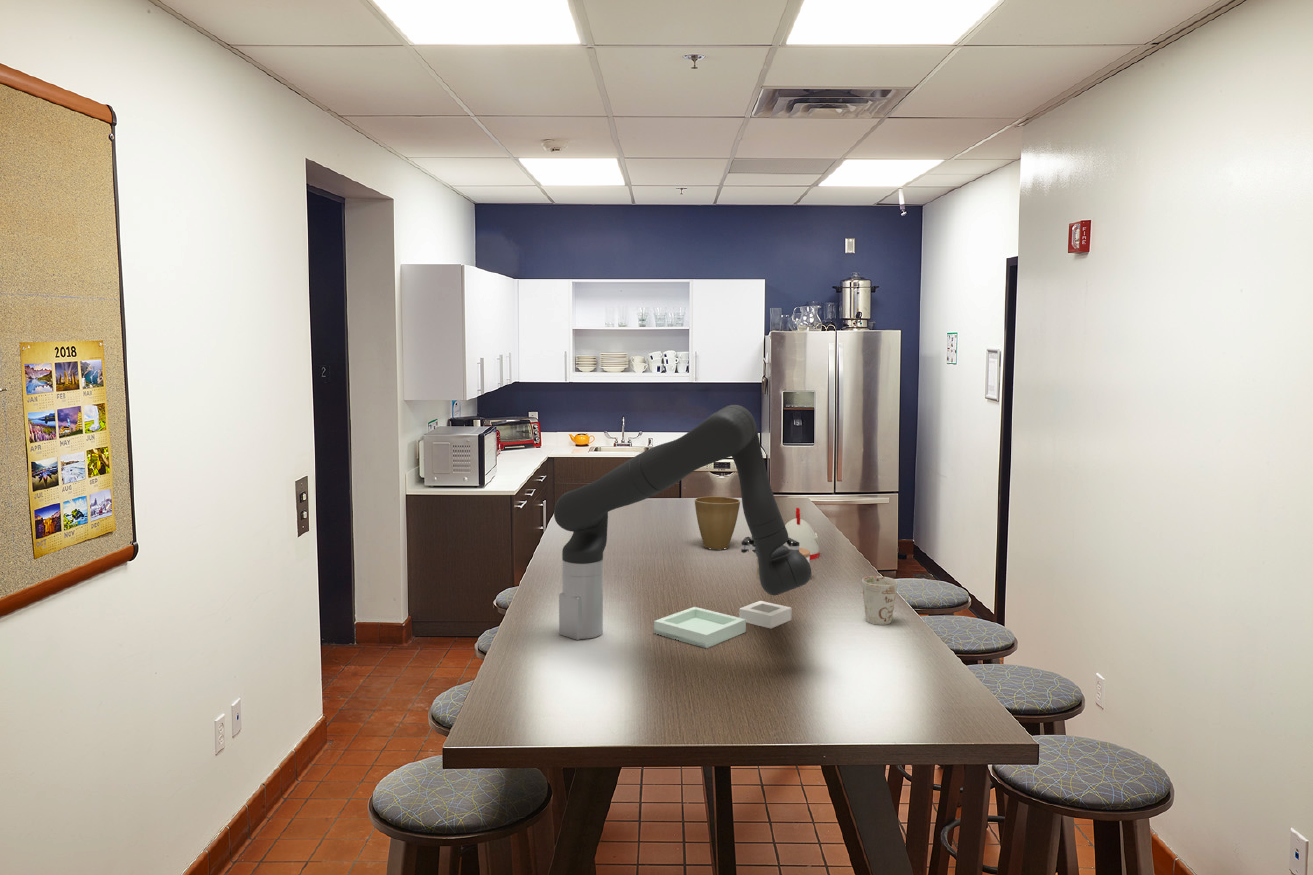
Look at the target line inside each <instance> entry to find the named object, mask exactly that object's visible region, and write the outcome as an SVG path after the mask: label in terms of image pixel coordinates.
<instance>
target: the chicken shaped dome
mask: <svg viewBox="0 0 1313 875" xmlns="http://www.w3.org/2000/svg"><path fill="white" fill-rule="evenodd" d="M800 511H801V510H800V507H795V518H792V519H790V520H789V521H788V522H786V524H785V527H786V530H787V532H788V537H789V538H791V539H793V540H795V541H797V542H799V543H800V544H799V548H804V549H807V550H809V551H810V558H809V561H810V560H811V561H812V560H816V559H819V557H820V542H819V537H818V534H817V532H815V531H814V529H813V528H812V526H811V525H810V524H809V523H808V522H807V521H806V520H804V519H803V518H801V512H800Z"/></svg>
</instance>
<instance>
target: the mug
mask: <svg viewBox="0 0 1313 875" xmlns="http://www.w3.org/2000/svg"><path fill="white" fill-rule="evenodd" d="M861 581H862V582H861V585H862V586H861V588H862V595H863V596H862V597H863V606H864V615H865V616H864V617H865V621H866V622H867V623H868V624H873V625H879V626H880V625H881V626H883V625H885V626H886V625H890V624H891V623H892V621H893V614H894V609H895V603H896V597H897V592H898V587H899V586H898V585H899V583H898V580H896V579H895V578H892V577H888V576H881V575H879V576H878V575H872V576H871V575H870V576H865V577H863V578H862V579H861Z"/></svg>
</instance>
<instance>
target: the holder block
mask: <svg viewBox="0 0 1313 875" xmlns="http://www.w3.org/2000/svg"><path fill="white" fill-rule="evenodd" d="M792 610H793V609H792V607H790V606H786V605H781V604H777V603H772V602H769V601H768V602H767V601H765V600H764V601H763V600H758V601H756V602H753V603H750V604H747V605H745V606H743V607H740V608H739V614H738V618H742V619H746V624H751V625H755V626H759V627H763V628H766V629H773V628H776V627H778V626H780V625H783V624H785V623H787V622H790V621H792Z"/></svg>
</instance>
